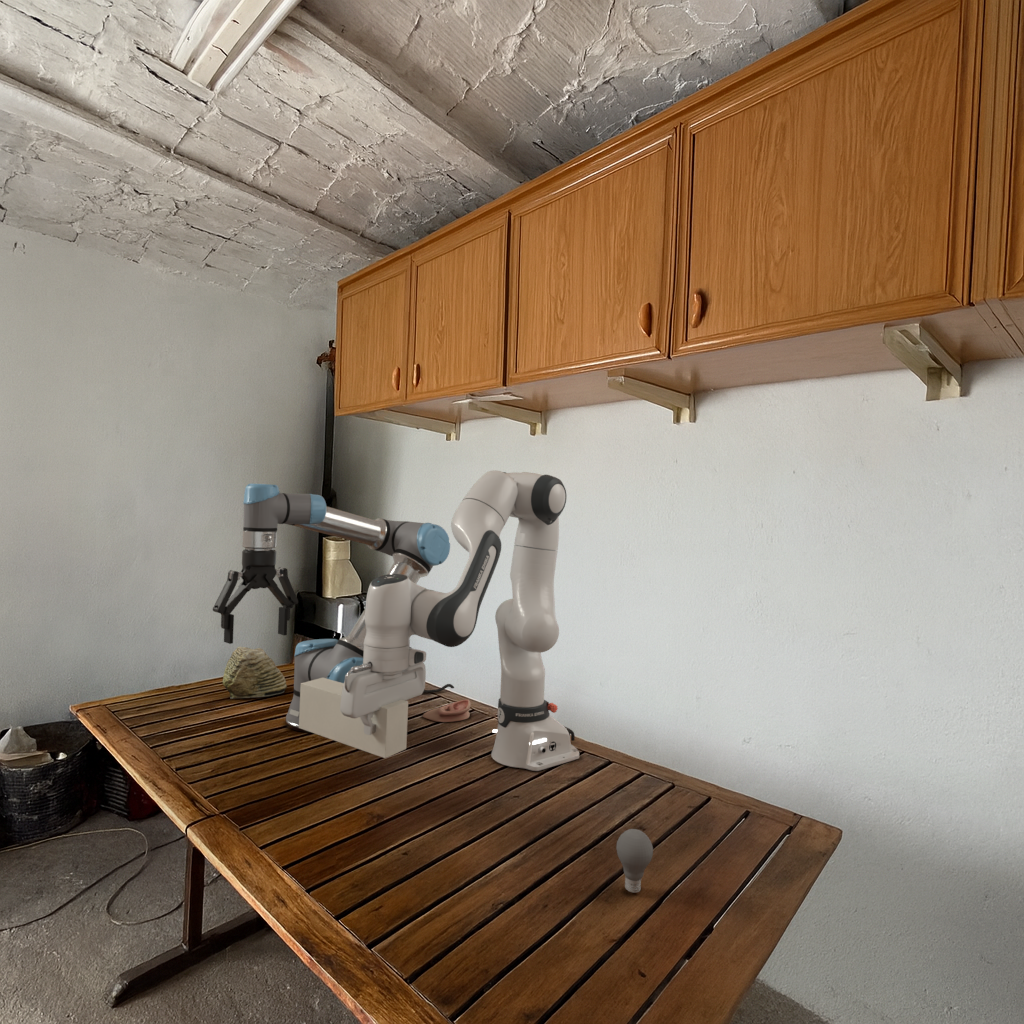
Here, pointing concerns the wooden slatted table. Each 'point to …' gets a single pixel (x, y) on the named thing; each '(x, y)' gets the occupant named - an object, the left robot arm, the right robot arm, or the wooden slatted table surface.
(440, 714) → the anatomical model
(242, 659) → the fossil
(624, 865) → the light bulb
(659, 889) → the wooden slatted table surface
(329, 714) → the bar
